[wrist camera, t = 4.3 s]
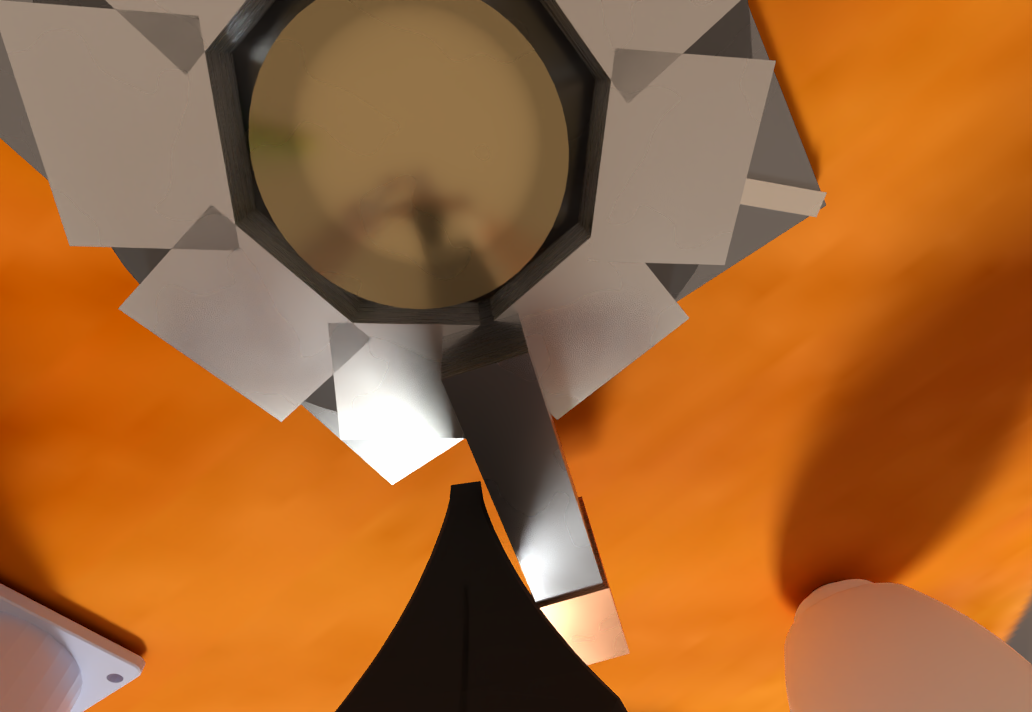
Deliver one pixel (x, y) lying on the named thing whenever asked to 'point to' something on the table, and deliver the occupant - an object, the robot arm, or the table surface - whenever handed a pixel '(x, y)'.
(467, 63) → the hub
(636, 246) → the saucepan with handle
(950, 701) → the air blower bulb
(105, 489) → the table surface
